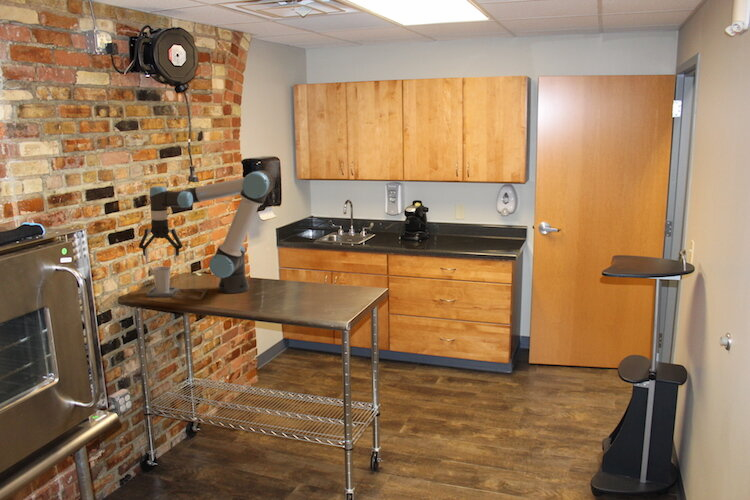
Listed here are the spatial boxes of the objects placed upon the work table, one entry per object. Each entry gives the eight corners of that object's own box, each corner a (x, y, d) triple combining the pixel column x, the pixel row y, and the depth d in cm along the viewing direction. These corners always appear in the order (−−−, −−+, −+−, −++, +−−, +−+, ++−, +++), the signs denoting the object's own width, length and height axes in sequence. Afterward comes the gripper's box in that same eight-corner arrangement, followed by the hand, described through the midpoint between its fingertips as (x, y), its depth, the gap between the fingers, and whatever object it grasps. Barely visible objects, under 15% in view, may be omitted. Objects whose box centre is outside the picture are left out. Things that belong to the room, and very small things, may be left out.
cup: (165, 294, 295) (164, 270, 292) (150, 293, 296) (149, 269, 294) (174, 290, 303) (173, 267, 300) (159, 289, 304) (158, 265, 302)
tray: (178, 290, 306) (177, 287, 306) (172, 297, 294) (172, 293, 294) (153, 290, 305) (153, 286, 305) (146, 297, 293) (146, 293, 293)
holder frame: (207, 291, 306) (207, 288, 305) (202, 299, 292) (202, 296, 292) (179, 291, 304) (179, 288, 304) (173, 299, 291) (172, 296, 291)
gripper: (187, 217, 297) (189, 260, 301) (134, 217, 295) (137, 260, 299) (184, 220, 290) (186, 264, 294) (130, 219, 287) (132, 263, 292)
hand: (161, 262), depth 296 cm, fingers open, 13 cm apart
